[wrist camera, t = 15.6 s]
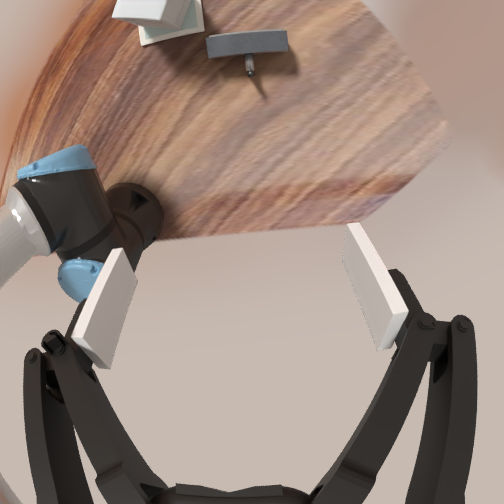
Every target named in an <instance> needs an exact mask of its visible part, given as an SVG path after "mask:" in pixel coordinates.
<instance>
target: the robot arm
mask: <svg viewBox="0 0 504 504" xmlns="http://www.w3.org/2000/svg"><path fill="white" fill-rule="evenodd" d="M96 168H97V166H96V165H94V163H93V160H92V158H91V156H90V153H89V151H88V149H87V148H86V147H85V146H84V145H80V144H77V145H73V146H70V147H68V148H65V149H63V150H60V151H58V152H55V153H53V154H50V155H48V156H46V157H43V158H41V159H39V160H37V161H35V162H33V163H30V164H29V165H27V166H25V167H23V168H21V169H19V170H18V171H17V179H18V180H19V181H18V182H17V183H16V184H14V185H13V186H11V187H10V188H9V191H8V195H7V200H6V203H5V204H4V205H3V206H2V207H1V208H0V288H2V287H3V286H4V284H5V283H6V282H7V281H8V280H9V279H10V278H11V277H12V276H13V275H14V274H15V273H16V272H17V271H18V270H19V269H20V268H21V267H22V266H23V265H24V264H25V263H26V262H27V261H29V260H30V259H31V258H32V257H33V256H34V255H42V256H49V255H50V254H51V253H52V252H54V251H55V252H56V253H57V255H58V256H59V258H60V260H61V262H62V264H61V265H60V267H59V269H58V281H59V284H60V285H61V288H62V289H63V290H64V291H65V293H66V294H67V295H69V296H70V297H71V298H72V299H74V300H75V301H77V302H79V303H80V304H79V305H78V307H77V309H76V312H75V314H74V316H73V320H72V321H71V323H70V325H69V327H68V330H67V332H66V335H65V337H63V335H62V334H61V333H60V332H59V331H58V330H51V331H49V332H48V333H47V334H46V335H45V336H44V337H43V340H42V343H41V345H42V347H43V348H44V349H45V350H46V352H45V353H42V352H41V351H40V350H39V349H37V348H33V349H31V350H29V351H28V353H27V354H26V356H25V360H24V380H23V381H24V382H23V394H24V395H23V396H24V398H23V399H24V420H25V433H26V442H27V450H28V456H29V463H30V468H31V474H32V478H33V483H34V487H35V492H36V496H37V504H94V503H93V500H92V496H91V493H90V490H89V487H88V483H87V480H86V477H85V473H84V470H83V466H82V462H81V459H80V455H79V450H78V446H77V441H76V437H75V432H74V427H75V429H76V432H77V434H78V436H79V439H80V441H81V443H82V445H83V447H84V449H85V451H86V453H87V455H88V457H89V459H90V461H91V463H92V465H93V467H94V469H95V471H96V473H97V477H96V479H95V482H96V484H97V487H98V489H99V490H100V492H101V494H102V495H103V497H104V499H105V500H106V502H107V503H108V504H362V503H363V501H364V500H365V499H366V497H367V496H368V494H369V493H370V491H371V489H372V487H373V486H374V484H375V481H376V475H377V473H378V471H379V470H380V468H381V466H382V465H383V463H384V461H385V459H386V457H387V456H388V454H389V452H390V450H391V448H392V446H393V444H394V442H395V440H396V438H397V436H398V434H399V432H400V430H401V428H402V426H403V424H404V421H405V419H406V417H407V415H408V413H409V410H410V408H411V406H412V403H413V400H414V398H415V396H416V393H417V391H418V388H419V385H420V383H421V380H422V377H423V374H424V372H425V369H426V366H427V362H431V363H430V378H429V389H428V397H427V406H426V413H425V419H424V425H423V431H422V436H421V441H420V446H419V451H418V455H417V459H416V464H415V467H414V471H413V475H412V478H411V482H410V485H409V489H408V493H407V497H406V502H405V504H465V495H464V493H465V489H466V484H467V480H468V475H469V470H470V465H471V459H472V453H473V446H474V436H475V428H476V414H477V356H476V342H475V332H474V326H473V323H472V322H471V320H470V319H469V318H467V317H466V316H463V315H457V316H455V317H454V318H453V320H452V321H451V322H445V321H436V319H435V318H434V317H433V316H432V315H430V314H429V313H425V312H424V311H423V309H422V307H421V305H420V303H419V301H418V300H417V298H416V296H415V294H414V292H413V291H412V290H411V287H410V285H409V284H408V282H407V280H406V278H405V277H404V275H403V274H402V273H401V272H399V271H398V270H397V269H391V270H387V269H386V267H385V265H384V264H383V262H382V260H381V258H380V257H379V255H378V253H377V252H376V250H375V248H374V247H373V245H372V243H371V241H370V240H369V238H368V237H367V235H366V233H365V232H364V230H363V228H362V227H361V225H360V224H359V223H349V224H347V225H346V234H345V243H344V252H343V259H342V262H343V264H344V267H345V269H346V271H347V274H348V276H349V279H350V281H351V283H352V286H353V288H354V291H355V293H356V295H357V298H358V301H359V303H360V306H361V308H362V311H363V314H364V316H365V319H366V321H367V324H368V327H369V330H370V333H371V335H372V338H373V341H374V344H375V346H376V349H377V351H380V350H384V349H389V348H391V347H392V345H393V343H394V341H395V343H396V345H397V349H396V351H395V353H394V355H393V357H392V361H391V363H390V365H389V367H388V369H387V372H386V374H385V376H384V378H383V380H382V382H381V384H380V386H379V388H378V390H377V392H376V394H375V396H374V398H373V400H372V402H371V404H370V406H369V408H368V409H367V411H366V413H365V415H364V417H363V418H362V420H361V422H360V423H359V425H358V427H357V429H356V430H355V432H354V433H353V435H352V437H351V438H350V440H349V441H348V443H347V445H346V446H345V448H344V449H343V451H342V452H341V454H340V455H339V457H338V458H337V460H336V461H335V463H334V464H333V466H332V467H331V468H330V470H329V471H328V472H327V473H326V474H325V476H324V477H323V478H322V479H321V481H320V482H319V483H318V485H317V486H316V487H315V489H314V490H313V491H312V492H311V494H310V495H308V494H306V493H305V492H302V491H300V490H297V489H294V488H290V487H284V486H282V485H270V486H255V487H250V488H246V489H242V490H238V491H234V492H225V491H221V490H217V489H213V488H208V487H204V486H199V485H186V484H177V483H176V486H174V487H170V488H168V486H167V485H166V484H165V483H164V482H163V481H162V480H161V479H160V478H159V477H158V476H157V475H156V474H154V473H153V471H152V470H151V469H150V468H149V466H148V465H147V463H146V462H145V460H144V459H143V457H142V456H141V455H140V453H139V452H138V450H137V449H136V447H135V445H134V444H133V442H132V441H131V439H130V438H129V436H128V434H127V432H126V431H125V430H124V427H123V426H122V424H121V422H120V421H119V419H118V417H117V415H116V413H115V412H114V410H113V408H112V407H111V404H110V402H109V400H108V398H107V396H106V395H105V393H104V390H103V389H102V386H101V384H100V382H99V380H98V378H97V376H96V374H95V371H94V370H93V369H92V364H93V363H94V364H95V365H96V366H97V367H98V368H104V369H110V368H111V364H112V361H113V357H114V353H115V350H116V346H117V343H118V340H119V336H120V333H121V330H122V327H123V323H124V320H125V317H126V314H127V311H128V308H129V305H130V302H131V299H132V296H133V294H134V291H135V288H136V285H137V282H138V280H137V278H136V276H135V274H134V272H135V270H136V267H137V264H138V262H139V259H140V257H141V254H142V252H143V250H145V249H146V248H147V247H148V246H149V245H151V244H152V243H153V242H154V241H155V240H156V238H157V237H158V235H159V233H160V231H161V228H162V225H163V211H162V208H161V205H160V203H159V202H158V200H157V199H156V197H155V196H154V195H153V194H152V193H151V192H150V191H149V190H147V189H146V188H144V187H142V186H140V185H137V184H134V183H119V184H115V185H113V186H111V187H110V188H108V189H107V190H106V191H105V190H104V188H103V185H102V183H101V180H100V178H99V175H98V172H97V170H96ZM46 385H47V387H46ZM73 425H74V427H73ZM282 493H283V494H282ZM0 504H22V503H21V501H20V500H19V499H18V497H17V496H16V495H15V493H14V492H13V491H12V489H11V488H10V487H9V485H8V484H7V482H6V481H5V479H4V478H3V477H2V475H1V474H0Z"/></svg>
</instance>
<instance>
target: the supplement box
mask: <svg viewBox="0 0 504 504" xmlns="http://www.w3.org/2000/svg"><path fill="white" fill-rule="evenodd" d="M190 3H191V0H117V3H116V6H115V9H114V12H113V15H112V18H114V19H118V20H122V21H126V22H129V23H132V24H135V25H138V26H141V27H156V28H167V29H176V30H181V28H182V25H183V22H184V20H185V17H186V14H187V11H188V8H189V6H190Z"/></svg>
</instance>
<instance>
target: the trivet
mask: <svg viewBox="0 0 504 504" xmlns="http://www.w3.org/2000/svg"><path fill="white" fill-rule="evenodd" d="M138 27H139V35H140V42H141V46H144V45H148V44H151V43H155V42H159V41H162V40H166V39H171V38H175V37H179V36H184V35H189V34H194V33H199V32H205V28H204V20H203V13H202V5H201V0H191V3H190V6H189V8H188V11H187V14H186V17H185V20H184V22H183V25H182V28H181V30H176V29H167V28H156V27H141V26H138Z"/></svg>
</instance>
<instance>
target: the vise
mask: <svg viewBox="0 0 504 504" xmlns="http://www.w3.org/2000/svg"><path fill="white" fill-rule="evenodd" d="M206 44H207V52H208V58H209V59H217V58H224V57H232V56H241V55H244V61H245V69H246V71H248V72H247V75H248V76H249V77H253V76H254V72H253V71H254V61H253V54H265V53H284V52H287V51H289V48H288V38H287V31H283V29H269V30H253V31H242V32H232V33H224V34H217V35H211V36H209V37H208V38H206Z"/></svg>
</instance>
